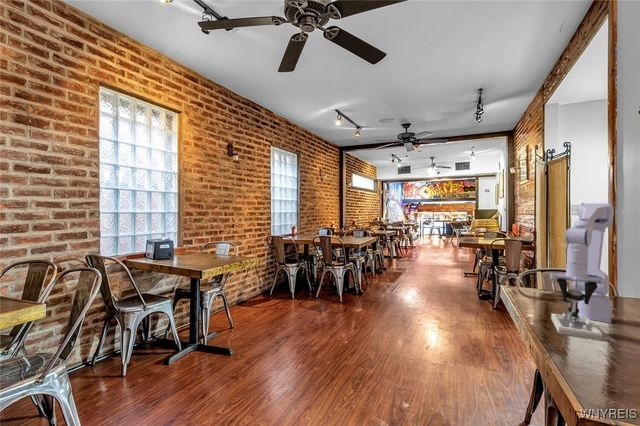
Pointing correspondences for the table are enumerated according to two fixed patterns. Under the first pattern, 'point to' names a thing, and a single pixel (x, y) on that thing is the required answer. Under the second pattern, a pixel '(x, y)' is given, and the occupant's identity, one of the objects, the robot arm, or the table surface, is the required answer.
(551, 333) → the table surface
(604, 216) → the robot arm
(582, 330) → the pin tray
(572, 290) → the push button
